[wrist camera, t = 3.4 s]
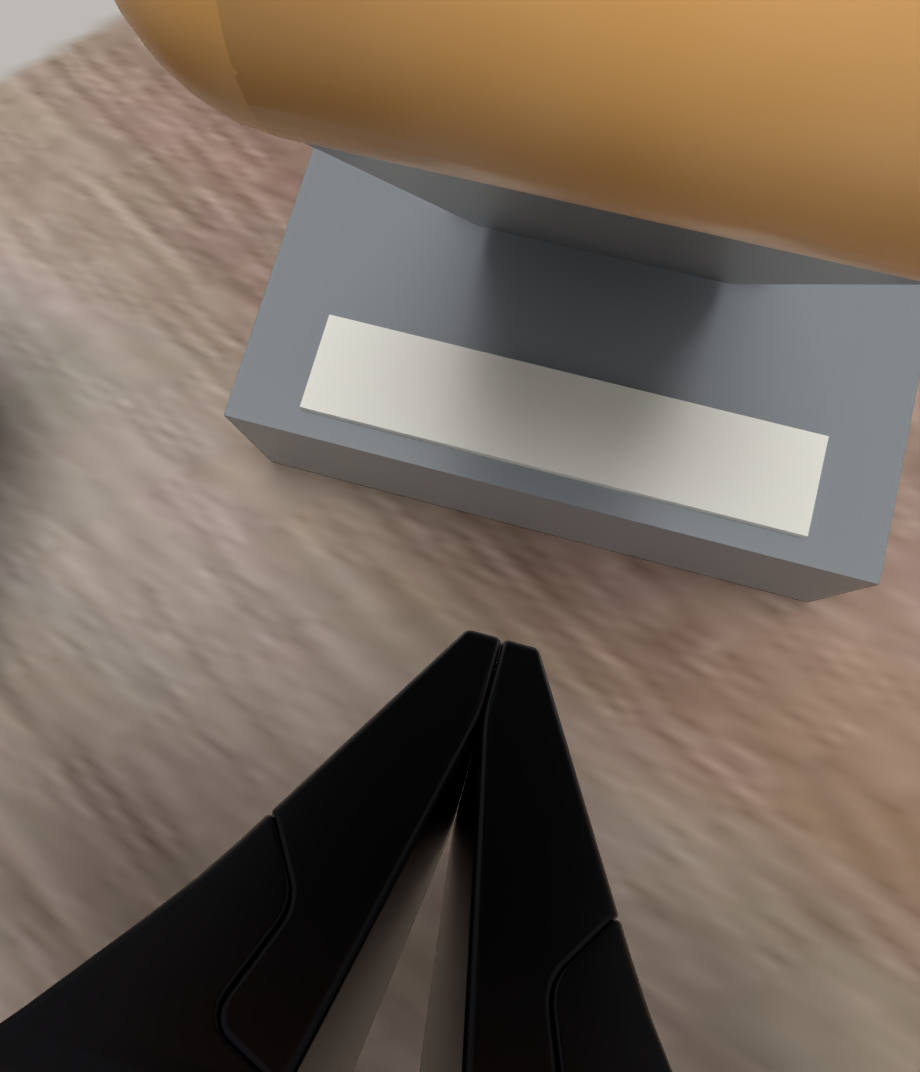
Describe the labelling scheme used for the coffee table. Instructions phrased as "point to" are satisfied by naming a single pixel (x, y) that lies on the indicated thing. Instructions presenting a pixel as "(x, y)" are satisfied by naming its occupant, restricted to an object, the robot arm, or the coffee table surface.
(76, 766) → the coffee table surface
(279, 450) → the block
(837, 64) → the lever
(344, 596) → the coffee table surface
